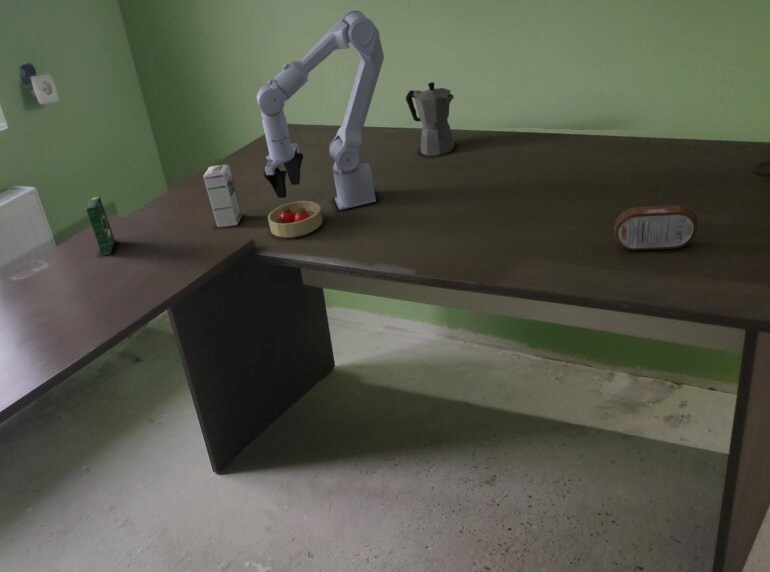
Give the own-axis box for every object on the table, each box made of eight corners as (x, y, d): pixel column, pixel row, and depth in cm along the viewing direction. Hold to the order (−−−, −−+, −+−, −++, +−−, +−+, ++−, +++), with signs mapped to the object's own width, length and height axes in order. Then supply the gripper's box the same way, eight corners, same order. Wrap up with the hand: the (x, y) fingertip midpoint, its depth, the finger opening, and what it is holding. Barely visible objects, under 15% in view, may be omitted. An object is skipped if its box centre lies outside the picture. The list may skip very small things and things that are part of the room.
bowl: (319, 211, 221) (316, 196, 218) (326, 231, 210) (324, 216, 208) (268, 223, 221) (265, 208, 219) (273, 244, 210) (270, 229, 208)
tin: (695, 242, 170) (699, 202, 165) (696, 249, 168) (700, 209, 163) (613, 245, 176) (614, 207, 171) (613, 253, 174) (614, 214, 169)
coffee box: (105, 242, 233) (89, 197, 226) (115, 240, 233) (100, 194, 225) (101, 255, 227) (84, 209, 219) (111, 253, 227) (95, 206, 219)
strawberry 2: (310, 220, 215) (307, 205, 213) (312, 226, 212) (309, 211, 210) (295, 224, 215) (292, 209, 213) (297, 230, 212) (294, 214, 210)
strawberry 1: (290, 219, 218) (287, 204, 216) (299, 223, 216) (296, 207, 213) (278, 225, 217) (275, 210, 215) (287, 229, 214) (284, 213, 212)
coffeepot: (467, 145, 235) (462, 77, 224) (447, 158, 230) (441, 90, 220) (422, 140, 245) (415, 75, 234) (401, 153, 240) (393, 87, 230)
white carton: (237, 225, 224) (224, 171, 216) (216, 227, 226) (202, 174, 217) (242, 216, 228) (229, 163, 220) (221, 218, 230) (207, 166, 222)
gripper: (276, 126, 216) (287, 178, 224) (249, 149, 206) (261, 203, 214) (301, 125, 212) (311, 178, 220) (275, 149, 203) (286, 203, 211)
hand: (288, 190), depth 217 cm, fingers open, 7 cm apart
